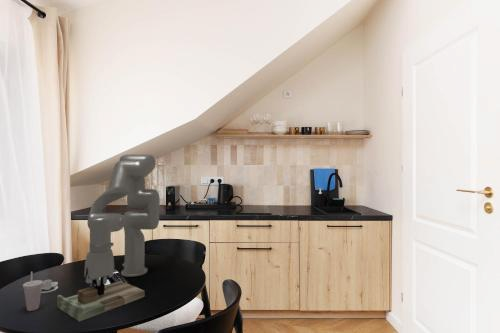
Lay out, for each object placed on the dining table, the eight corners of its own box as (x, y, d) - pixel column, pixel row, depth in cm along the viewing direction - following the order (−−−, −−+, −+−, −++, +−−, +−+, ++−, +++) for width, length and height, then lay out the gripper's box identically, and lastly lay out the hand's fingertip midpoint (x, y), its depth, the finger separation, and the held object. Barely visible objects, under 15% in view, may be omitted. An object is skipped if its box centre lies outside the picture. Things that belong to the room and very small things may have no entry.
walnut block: (77, 301, 118) (77, 290, 118) (90, 296, 122) (90, 286, 122) (84, 304, 115) (84, 294, 115) (97, 300, 119) (97, 289, 119)
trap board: (57, 307, 118) (57, 295, 118) (120, 286, 139) (120, 276, 139) (79, 321, 107) (79, 308, 107) (144, 296, 128) (144, 285, 128)
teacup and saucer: (55, 284, 141) (55, 275, 141) (63, 288, 137) (63, 279, 137) (33, 290, 134) (33, 281, 134) (41, 295, 130) (41, 285, 130)
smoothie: (29, 305, 120) (29, 269, 120) (46, 304, 120) (47, 268, 120) (18, 312, 113) (18, 274, 113) (36, 312, 114) (37, 274, 114)
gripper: (113, 242, 130) (112, 286, 130) (76, 250, 118) (75, 298, 118) (123, 245, 126) (122, 290, 126) (85, 253, 114) (85, 303, 114)
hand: (99, 294), depth 122 cm, fingers closed
